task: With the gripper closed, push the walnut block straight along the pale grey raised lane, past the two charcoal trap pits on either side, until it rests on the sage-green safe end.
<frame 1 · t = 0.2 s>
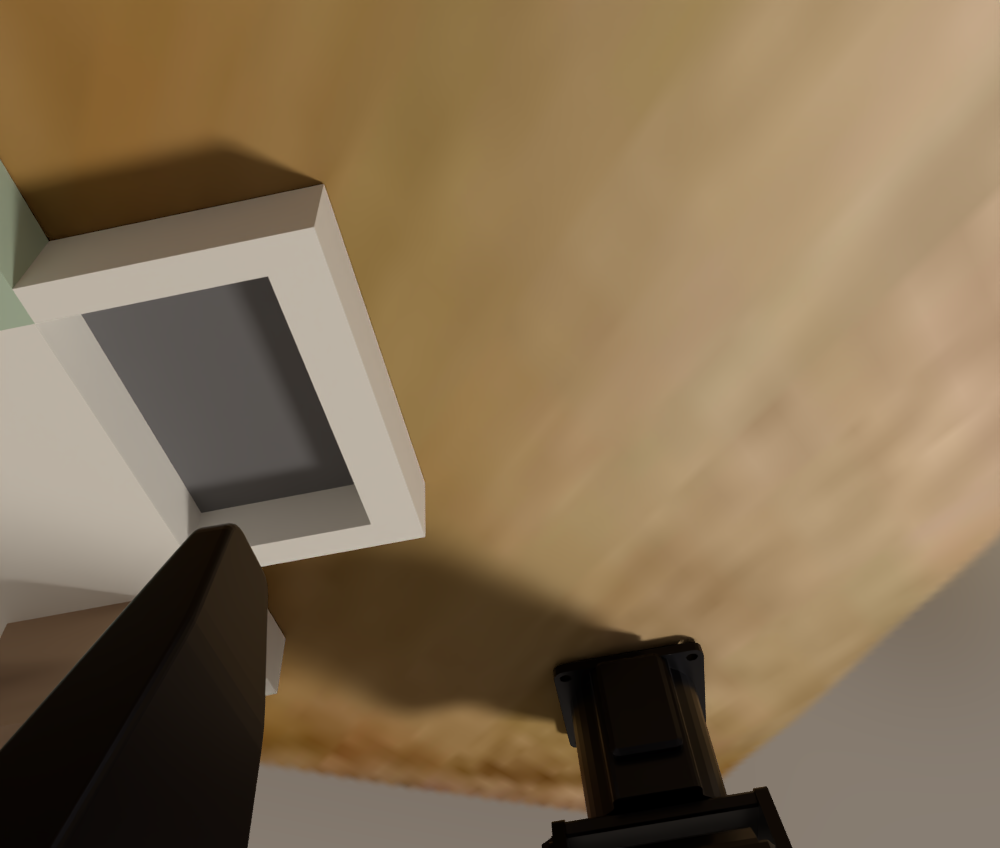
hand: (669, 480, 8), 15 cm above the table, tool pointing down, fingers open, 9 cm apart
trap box: (14, 440, 26), on the table
walnut block: (114, 653, 29), point 2 cm above the table, touching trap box
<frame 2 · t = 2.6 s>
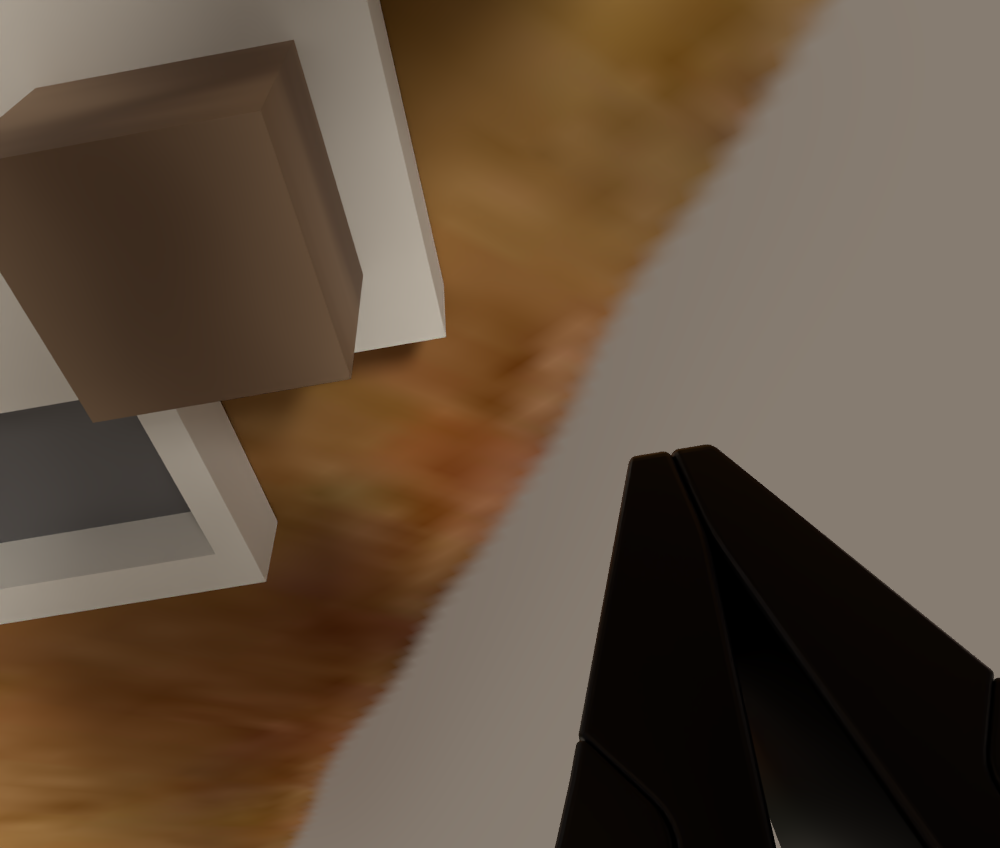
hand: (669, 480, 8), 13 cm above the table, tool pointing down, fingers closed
walnut block: (213, 189, 17), point 2 cm above the table, touching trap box
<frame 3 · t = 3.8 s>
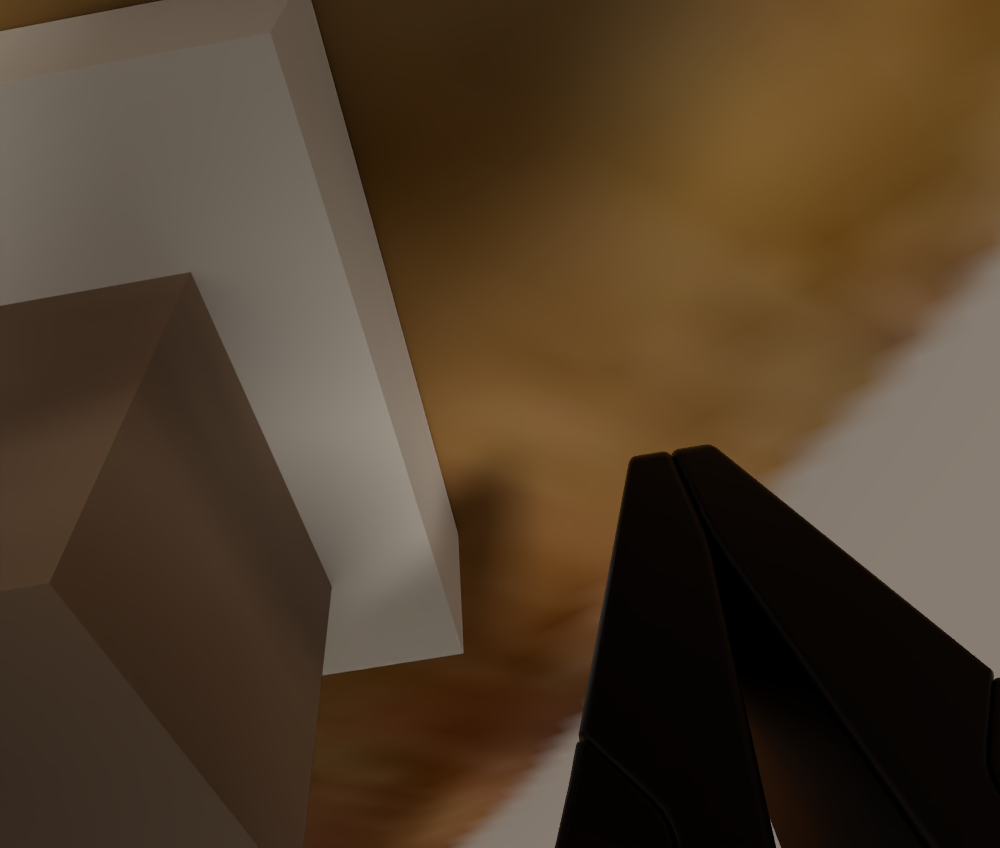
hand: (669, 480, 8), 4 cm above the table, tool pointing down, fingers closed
walnut block: (71, 488, 10), point 2 cm above the table, touching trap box
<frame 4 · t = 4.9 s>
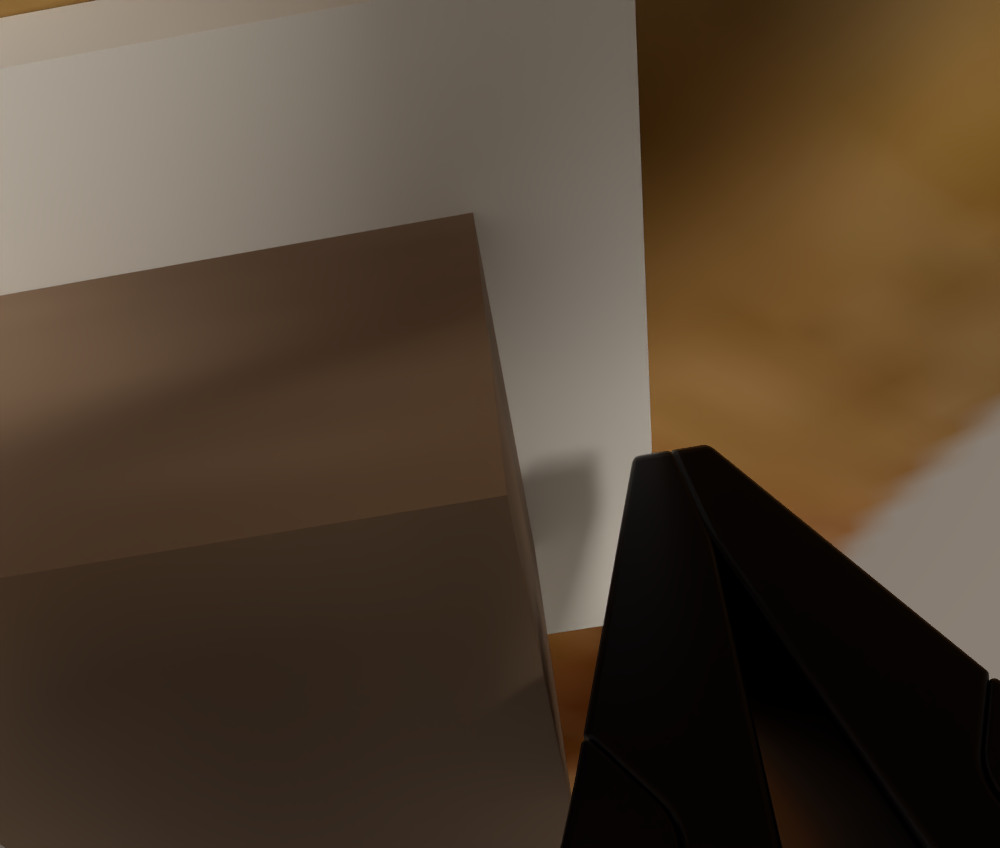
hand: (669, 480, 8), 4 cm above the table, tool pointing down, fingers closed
walnut block: (302, 442, 10), point 3 cm above the table, touching gripper, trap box
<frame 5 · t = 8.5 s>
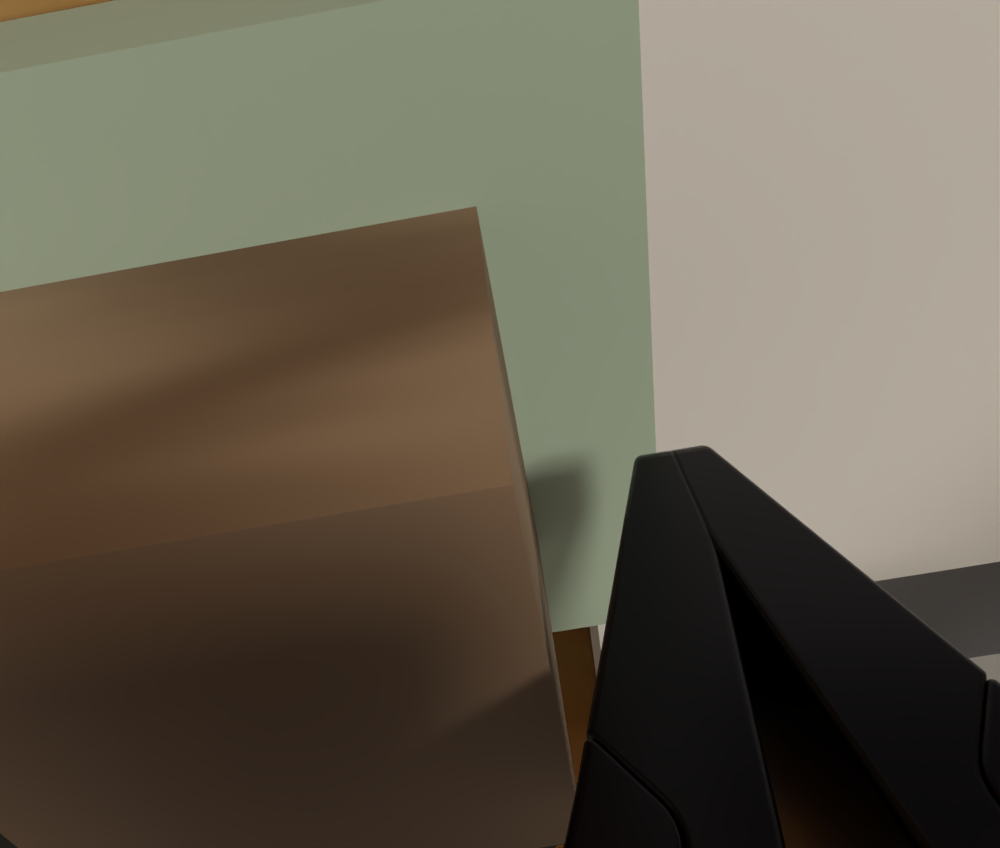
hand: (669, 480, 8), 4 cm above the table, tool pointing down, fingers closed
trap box: (968, 216, 11), on the table
walnut block: (306, 437, 10), point 2 cm above the table, touching gripper, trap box
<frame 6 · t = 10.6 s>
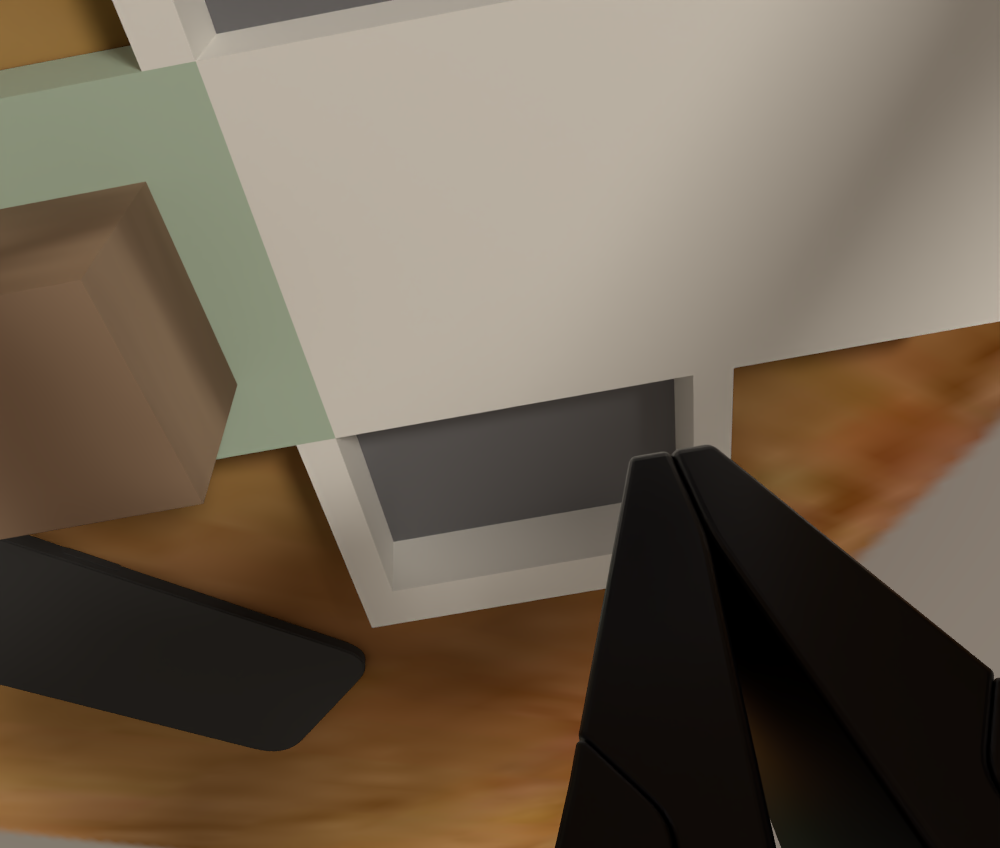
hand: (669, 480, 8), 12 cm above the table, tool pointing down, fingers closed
phone: (141, 633, 29), on the table
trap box: (496, 191, 19), on the table
walnut block: (83, 313, 18), point 2 cm above the table, touching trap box
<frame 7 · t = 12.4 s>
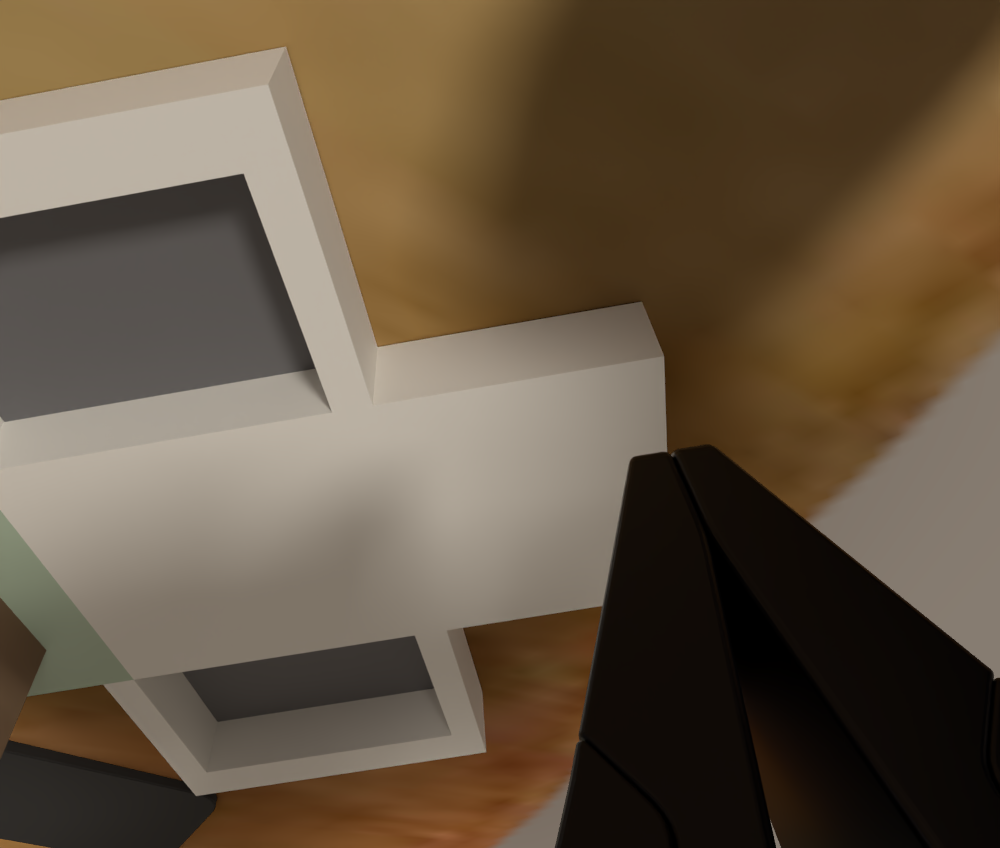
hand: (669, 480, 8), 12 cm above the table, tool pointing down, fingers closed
phone: (23, 777, 34), on the table
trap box: (251, 497, 24), on the table
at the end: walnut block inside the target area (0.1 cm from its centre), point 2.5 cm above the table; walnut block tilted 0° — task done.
